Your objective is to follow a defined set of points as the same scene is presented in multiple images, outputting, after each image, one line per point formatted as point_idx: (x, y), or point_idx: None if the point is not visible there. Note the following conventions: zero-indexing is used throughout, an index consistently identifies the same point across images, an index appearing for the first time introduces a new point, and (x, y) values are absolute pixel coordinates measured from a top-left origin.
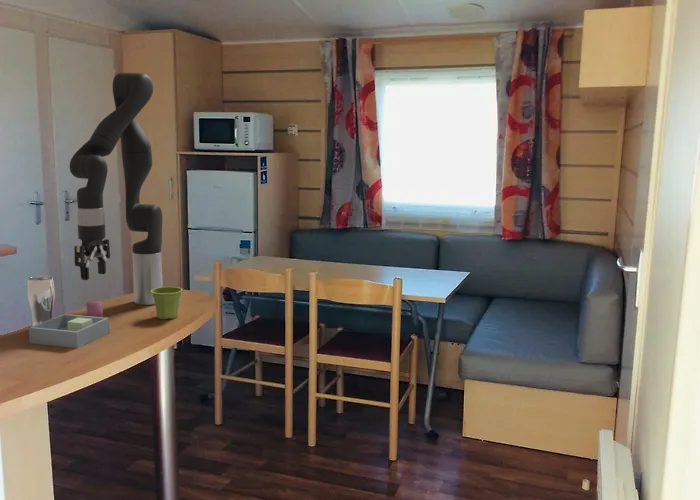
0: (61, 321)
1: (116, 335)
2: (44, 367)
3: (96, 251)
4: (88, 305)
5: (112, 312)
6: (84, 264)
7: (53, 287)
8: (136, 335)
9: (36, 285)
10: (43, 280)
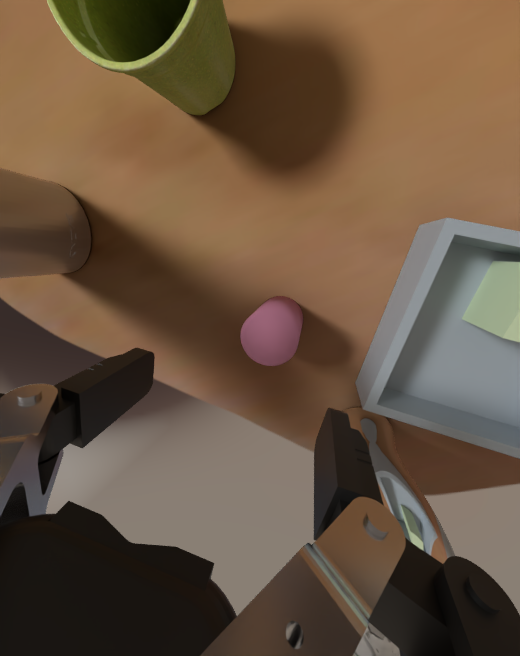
0: (388, 398)
1: (465, 181)
2: None
3: (36, 650)
4: (294, 351)
5: (180, 300)
6: (452, 578)
7: None
8: (479, 86)
9: None
10: None
